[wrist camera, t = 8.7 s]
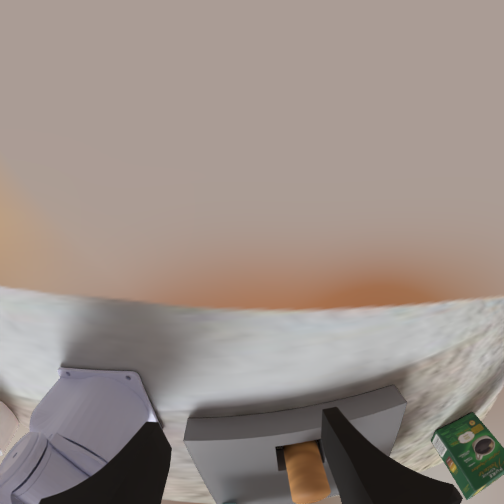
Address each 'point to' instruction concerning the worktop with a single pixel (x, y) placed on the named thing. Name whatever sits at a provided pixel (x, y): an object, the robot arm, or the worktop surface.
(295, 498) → the peg
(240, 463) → the socket stand
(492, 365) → the worktop surface
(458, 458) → the coffee box
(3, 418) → the white cube
